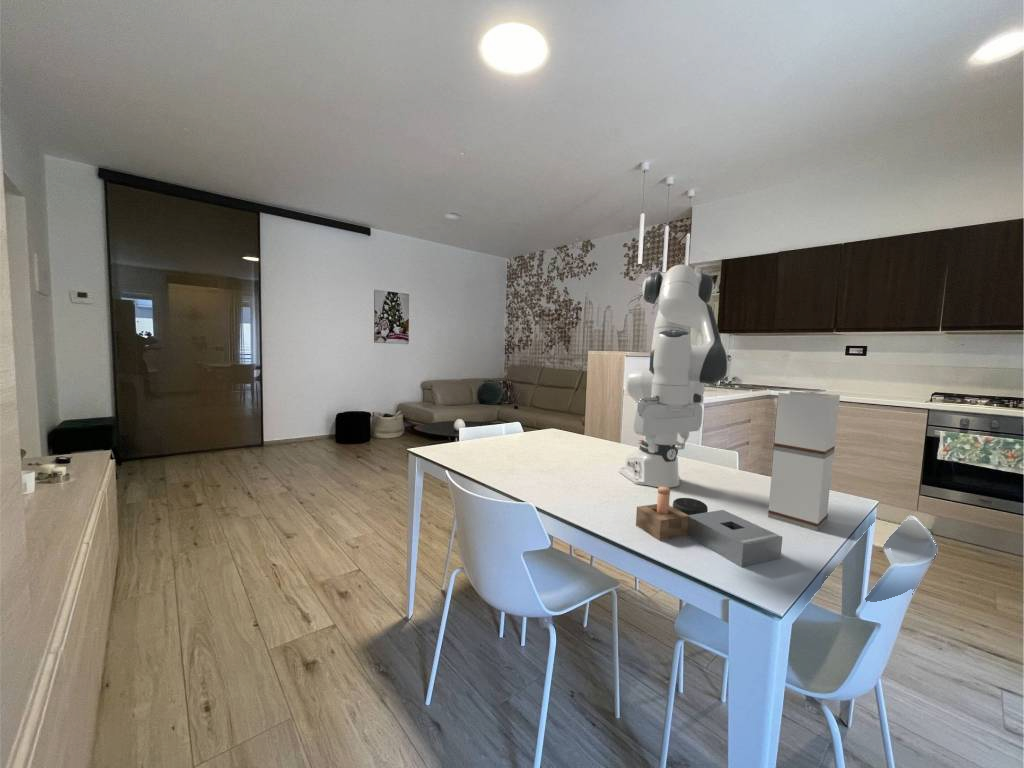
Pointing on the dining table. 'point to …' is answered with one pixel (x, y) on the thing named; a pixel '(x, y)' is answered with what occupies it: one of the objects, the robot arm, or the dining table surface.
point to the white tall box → (803, 458)
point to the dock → (734, 537)
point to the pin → (663, 500)
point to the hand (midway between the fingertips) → (666, 450)
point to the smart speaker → (690, 506)
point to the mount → (662, 522)
